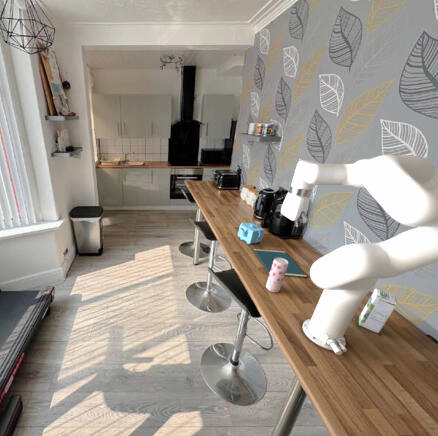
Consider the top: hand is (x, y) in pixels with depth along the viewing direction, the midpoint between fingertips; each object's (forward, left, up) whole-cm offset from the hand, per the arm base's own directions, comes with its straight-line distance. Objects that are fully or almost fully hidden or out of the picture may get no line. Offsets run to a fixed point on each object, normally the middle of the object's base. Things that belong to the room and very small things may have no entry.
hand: (288, 229), depth 101 cm
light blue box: (+40, 0, -27) cm, 48 cm away
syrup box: (-23, -26, -27) cm, 44 cm away
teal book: (+17, -9, -27) cm, 33 cm away
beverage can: (-6, +3, -27) cm, 28 cm away
